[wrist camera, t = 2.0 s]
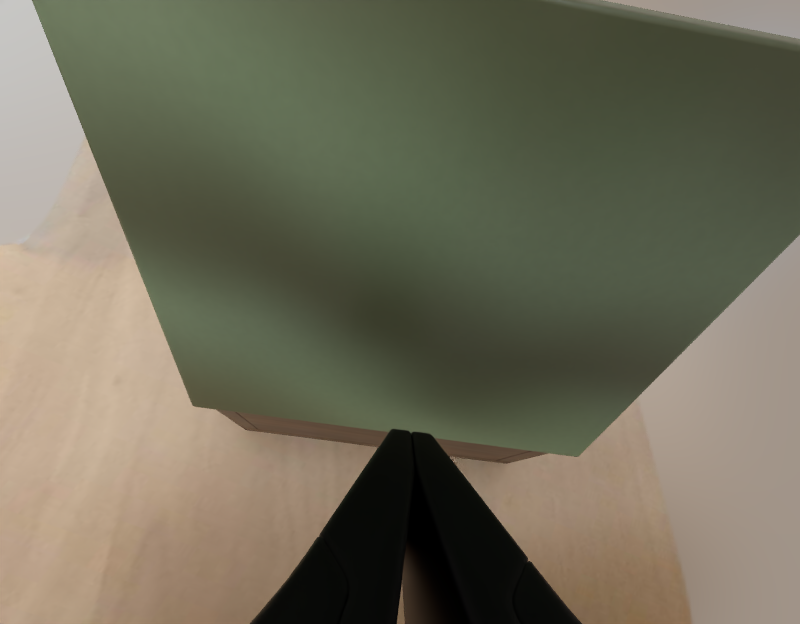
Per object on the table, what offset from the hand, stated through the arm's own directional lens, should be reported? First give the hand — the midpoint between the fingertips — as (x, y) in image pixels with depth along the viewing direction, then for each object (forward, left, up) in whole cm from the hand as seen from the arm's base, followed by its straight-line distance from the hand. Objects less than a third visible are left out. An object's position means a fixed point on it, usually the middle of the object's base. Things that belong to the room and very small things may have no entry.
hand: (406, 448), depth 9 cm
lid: (+4, 0, 0) cm, 4 cm away
